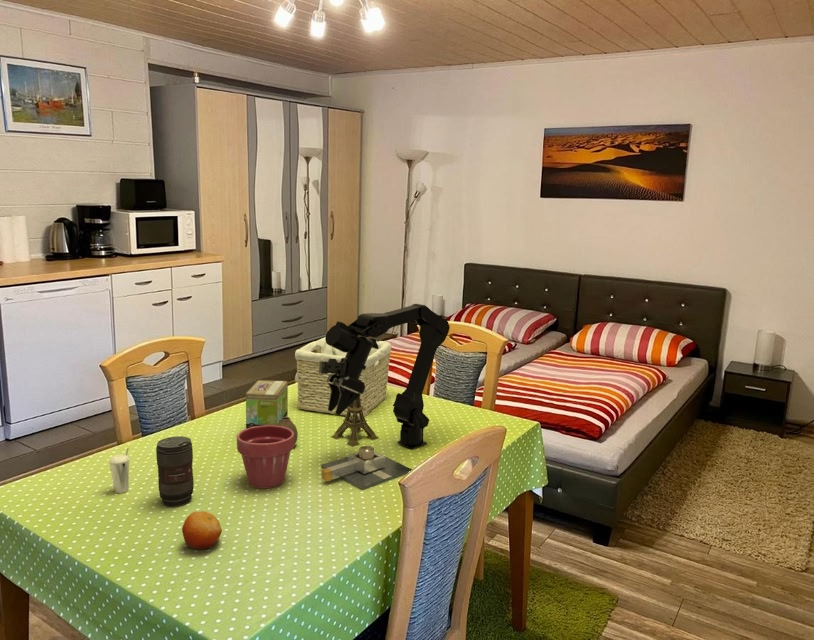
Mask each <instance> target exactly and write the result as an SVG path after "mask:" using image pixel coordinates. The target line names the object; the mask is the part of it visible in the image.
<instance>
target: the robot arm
mask: <svg viewBox="0 0 814 640" xmlns="http://www.w3.org/2000/svg"><path fill="white" fill-rule="evenodd" d="M411 322H415V324H416V325H418V327H420V328H419V333H418V335H419V339H420V340H419V341H420V345H419V349H418V352H417V355H416V359H415V360H414V364H413V366H412V370H411V373H410V376H409V380H408V383H407V385H406V388H405V389H404V391H402V392H401V393H399V392H398V393H397V394H396V395H395V400H394V402H393V404H392V407H393V410H392V412H393V415H394V416H395V418H396V422H397V423H400V424H401V425H400V427H401V428H400V431H399V440H398V441H397V444H398V445H401V446H403V447H406V448H408V449H410V450H414V449H416V448H419V447H422V446H425V445H427V443H428V442H427V441H424V429H425V428H427V427H428V426H429V423H430V418H428V416H427V415H426V414H425V413H424V412H423V411H424V407H425V403H424V398H423V393H424V390H425V386H426V384H427V380H428V377H429V374H430V371H431V368H432V365H433V363H434V359H435V356H436V352H437V350H438V348H439V347H440V346H441V345H442V344H443V343H444V342H445V341H446V339H447V337H448V334H449V332H450V330H451V329H450V327H451V326H450V324H449V321H448V320H447V319H446V318H443V317H441V316H440V315H439V314H437V313H436V312H434V311H433V310H431V309H430V308H429V307H428V306H427V305H425V304H419V303H413V304H411V305H408V306H405V307H402V308H398V309H394V310H390V311H386V312H383V313H382V312H381V313H380V312H379V313H376V312H374V313H373V312H369V313H368V312H367V313H361V314H359V315H358V316H357V319H355V320H353V322H351V323H349V324H348V325H347V324H346V323H344V322H341V321H339V320H338V321H336V324H334V325H333V326H332V327H330V328H329V330H328V331H327V332H326V333H325V337H326V338H325V341H326V343H327V344H328V345H329V346H332V347H334V348H336V349H338V350H340V351H342V352H347V354H346V356H345V358H342V359H341V361H340V362H337V360H336V359H330V358H329V360H328V361H320V364H319V373H322V374H327V373H332V374H329V377H328V379H327V381H329V382H331V383H328V385H329V387H330V389H331V393H330V400H329V406H328V410H329V411H333V409H334V408H335V407H336V406H337V409H336V414H335V415H337V416H341V415H340V414H341V413H342V412H343V411H344V410H345V409H346V408H347V407H348V406H349V405H350V404H351V403H352V402H353V401H355V400H356V399H357V398H358V397H359V396H360V394H358V392H359V393H362V394H363V392H364V390H365V388H366V387H365V384H364V382H361V381H360V380H359V378H360V375H361V373H362V370H363V369H364V370H365V368H366V366H365V363H366V361H367V358H368V356H369V353H370V351H371V349H372V348H375V349H378V348H379V347H378V344H377V342H378V341H377V339H376V338H379V337H380V336H383V335H385V334H386V333H388V331H389V330H390V329H391V328H395V327H398V326H401V325H405V324H408V323H411ZM369 337H370V338H369ZM376 341H377V342H376Z"/></svg>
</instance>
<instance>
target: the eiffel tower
mask: <svg viewBox="0 0 814 640" xmlns="http://www.w3.org/2000/svg"><path fill="white" fill-rule="evenodd" d="M358 394H360V393H359V392H358ZM347 409H348V411H347V415H346V416H345V418H344V419H342V421H343V422H342V423H341V425H340V426H339V427H338V428H337V429H336V431H334V433H333V435H331V436H330V438H331V439H334V440H339V439H343V438H344V435H343V434H344V433H345V432H346V430H347V429H350V435H349V438H348V441H347V443H346V445H347V446H350V447H352V448H353V447H357V446H360V442H359V441H358V433H362V432H364V433H366V439H369V440H371V441H375V440H378V439H380V437H379V436H377V434H376V433H375V432H374V430H373V429H372V427H370V425H369V424H368V423H367V422H368V419H366V417H364V415H363V412H362V410H363V409H364V408H363V406H361V400H360V396H359V397H358V398H357V399H356V400H355V401H353V402H352V403H351V404H350V405H349V406H348V407H347ZM351 413H353V417H350V415H351ZM358 413H359V416H360V418H358V415H357V414H358ZM363 430H364V431H363Z"/></svg>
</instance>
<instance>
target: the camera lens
mask: <svg viewBox="0 0 814 640" xmlns="http://www.w3.org/2000/svg"><path fill="white" fill-rule="evenodd" d="M155 451H156V455H155V456H156V466H157V472H158V481H157V482H158V493H159V497H160V499H161V503H162V505H164V506H165V507H171V508H174V507H175V508H176V507H180V506H184V505H187V504H188V503H189V502H191V500H192V495H193V493H194V486H195V482H194V472H193V471H194V469H193V468H194V467H193V459H194V454H193V453H194V452H193V451H194V450H193V443H192V439H191V438H189V437H187V436H177V435H176V436H170V437H166V438H163V439H160V440H158V441H157V443H156V447H155Z"/></svg>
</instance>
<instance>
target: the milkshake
mask: <svg viewBox="0 0 814 640" xmlns="http://www.w3.org/2000/svg"><path fill="white" fill-rule="evenodd" d="M128 453H129V447H127V448H126V451H125V454H115V455H113V456H112V457H110V458H109V467H110V472H111V479H112V486H113V490H114V492H115V493H116V494H124V493H127V492H128V491H129V488H130V486H129V485H130V482H129V481H130V456H128Z"/></svg>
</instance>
